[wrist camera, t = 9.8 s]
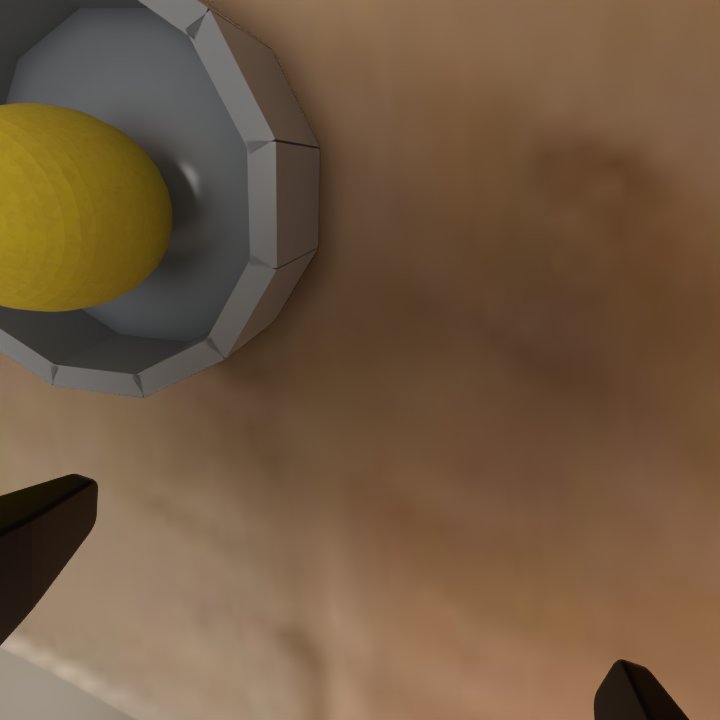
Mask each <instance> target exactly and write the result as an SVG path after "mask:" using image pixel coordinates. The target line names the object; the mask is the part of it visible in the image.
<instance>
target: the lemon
mask: <svg viewBox="0 0 720 720" xmlns="http://www.w3.org/2000/svg"><path fill="white" fill-rule="evenodd" d="M172 228H173V221H172V204H171V200H170V196H169V192H168V188H167V186H166V184H165V182H164V180H163V178H162V176H161V174H160V172H159V169H158V168H157V166H156V165H155V164H154V162H153V161H152V160H151V159H150V157H149V156H148V155H147V153H146V152H145V151H144V150H143V149H142V148H141V147H140V146H139V145H138V144H137V143H135V142H134V141H133V140H132V139H131V138H129V137H128V136H127V135H126V134H125V133H123V132H122V131H121V130H119V129H118V128H116V127H114V126H112V125H110V124H108V123H106V122H103V121H101V120H99V119H97V118H95V117H93V116H91V115H89V114H87V113H84V112H81V111H78V110H73V109H69V108H64V107H58V106H53V105H47V104H40V103H15V104H6V105H0V305H1V306H4V307H9V308H13V309H22V310H32V311H43V312H59V311H70V310H76V309H81V308H87V307H92V306H97V305H101V304H104V303H107V302H109V301H112V300H114V299H116V298H118V297H119V296H121V295H123V294H125V293H127V292H129V291H130V290H132V289H134V288H136V287H137V286H139V285H140V284H141V283H142V282H143V281H144V280H145V279H146V278H147V277H148V276H149V275H150V274H151V273H152V272H153V271H154V270H155V269H156V268H157V267H158V265H159V263H160V262H161V260H162V258H163V256H164V254H165V252H166V250H167V248H168V246H169V242H170V237H171V233H172Z"/></svg>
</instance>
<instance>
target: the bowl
mask: <svg viewBox="0 0 720 720" xmlns="http://www.w3.org/2000/svg"><path fill="white" fill-rule="evenodd" d="M15 103H40V104H47V105H53V106H58V107H64V108H69V109H73V110H78V111H81V112H84V113H87V114H89V115H91V116H93V117H95V118H97V119H99V120H101V121H103V122H106V123H108V124H110V125H112V126H114V127H116V128H118V129H119V130H121V131H122V132H123V133H125V134H126V135H127V136H128V137H129V138H131V139H132V140H133V141H134V142H135V143H137V144H138V145H139V146H140V147H141V148H142V149H143V150H144V151H145V152H146V153H147V155H148V156H149V157H150V159H151V160H152V161H153V162H154V164H155V165H156V166H157V168H158V169H159V172H160V174H161V176H162V178H163V180H164V182H165V184H166V186H167V188H168V192H169V196H170V200H171V204H172V221H173V228H172V233H171V237H170V242H169V246H168V248H167V250H166V252H165V254H164V256H163V258H162V260H161V262H160V263H159V265H158V267H157V268H156V269H155V270H154V271H153V272H152V273H151V274H150V275H149V276H148V277H147V278H146V279H145V280H144V281H143V282H142V283H141V284H140V285H139V286H137V287H136V288H134V289H132V290H130V291H129V292H127V293H125V294H123V295H121V296H119V297H118V298H116V299H114V300H112V301H109V302H107V303H104V304H101V305H97V306H92V307H87V308H81V309H76V310H70V311H59V312H43V311H32V310H22V309H13V308H9V307H4V306H1V305H0V352H2V353H3V354H5V355H6V356H8V357H10V358H11V359H13V360H14V361H16V362H17V363H19V364H20V365H22V366H23V367H25V368H26V369H28V370H29V371H31V372H32V373H34V374H35V375H37V376H38V377H40V378H41V379H43V380H44V381H46V382H47V383H49V384H51V385H54V386H57V387H64V388H72V389H80V390H87V391H95V392H103V393H110V394H118V395H126V396H133V397H141V398H143V397H147V396H149V395H151V394H153V393H155V392H158V391H160V390H162V389H164V388H166V387H168V386H170V385H172V384H175V383H177V382H179V381H181V380H183V379H185V378H187V377H189V376H191V375H194V374H196V373H198V372H200V371H202V370H204V369H206V368H208V367H211V366H213V365H215V364H217V363H219V362H221V361H223V360H225V359H226V358H228V357H229V356H230V355H231V354H233V353H234V352H235V351H236V350H238V349H239V348H240V347H242V346H243V345H244V344H245V343H247V342H248V341H249V340H250V339H252V338H253V337H254V336H256V335H257V334H258V333H259V332H261V331H262V330H263V329H264V328H266V327H267V326H268V325H270V324H271V323H272V322H273V321H274V320H275V319H276V318H277V316H278V314H279V313H280V311H281V309H282V308H283V306H284V304H285V303H286V301H287V299H288V298H289V296H290V294H291V293H292V291H293V289H294V288H295V286H296V284H297V282H298V281H299V279H300V277H301V276H302V274H303V272H304V271H305V269H306V267H307V266H308V264H309V262H310V261H311V259H312V257H313V256H314V254H315V252H316V251H317V247H318V227H319V174H320V149H317V148H318V147H319V145H318V143H317V141H316V139H315V137H314V135H313V133H312V131H311V129H310V126H309V124H308V122H307V120H306V118H305V116H304V114H303V112H302V110H301V108H300V106H299V104H298V102H297V100H296V98H295V96H294V94H293V92H292V90H291V88H290V86H289V83H288V81H287V79H286V77H285V75H284V73H283V71H282V69H281V67H280V65H279V63H278V61H277V59H276V57H275V55H274V53H273V51H272V50H271V48H269V47H268V46H267V45H265V44H264V43H262V42H261V41H259V40H258V39H257V38H255V37H254V36H252V35H251V34H249V33H248V32H247V31H245V30H244V29H242V28H241V27H240V26H238V25H237V24H235V23H234V22H232V21H231V20H230V19H228V18H227V17H225V16H224V15H222V14H221V13H220V12H218V11H217V10H215V9H214V8H212V7H211V6H210V5H208V4H207V3H205V2H204V1H203V0H0V105H6V104H15Z"/></svg>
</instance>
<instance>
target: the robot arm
mask: <svg viewBox="0 0 720 720" xmlns="http://www.w3.org/2000/svg"><path fill="white" fill-rule="evenodd" d="M97 498H98V485H97V482H96V481H95V480H93V479H90V478H87V477H84V476H81V475H78V474H70V475H66V476H63V477H60V478H57V479H54V480H50V481H47V482H44V483H41V484H37V485H34V486H31V487H28V488H24V489H21V490H18V491H15V492H12V493H8V494H5V495H2V496H0V645H1V644H2V643H3V642H4V641H5V640H6V639H7V638H8V637H9V635H10V634H11V633H12V632H13V631H14V630H15V629H16V628H17V627H18V625H19V624H20V623H21V622H22V621H23V620H24V619H25V617H26V616H27V615H28V614H29V613H30V612H31V610H32V609H33V608H34V607H35V605H36V604H37V603H38V602H39V600H40V599H41V598H42V596H43V595H44V594H45V592H46V591H47V590H48V588H49V587H50V586H51V584H52V583H53V582H54V580H55V579H56V578H57V576H58V575H59V574H60V572H61V571H62V570H63V568H64V567H65V565H66V564H67V563H68V561H69V560H70V559H71V557H72V556H73V555H74V553H75V552H76V551H77V549H78V548H79V547H80V545H81V544H82V543H83V541H84V540H85V539H86V537H87V536H88V534H89V533H90V532H91V530H92V528H93V526H94V524H95V521H96V517H97ZM594 718H595V720H689V719H688V717H687V716H686V715H685V714H684V712H683V711H682V710H681V709H680V708H679V706H678V705H677V704H676V703H675V701H674V700H673V699H672V698H671V696H670V695H669V694H668V693H667V691H666V690H665V689H664V688H663V687H662V685H661V684H660V683H659V682H658V680H657V679H656V678H655V677H654V675H653V674H652V673H651V672H650V671H649V670H648V669H647V668H645V667H643V666H641V665H638V664H635V663H632V662H629V661H626V660H622V659H620V660H617V661H616V662H615V663H614V664H613V666H612V667H611V669H610V671H609V672H608V674H607V675H606V677H605V679H604V680H603V682H602V684H601V685H600V687H599V688H598V690H597V692H596V695H595V699H594Z"/></svg>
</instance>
